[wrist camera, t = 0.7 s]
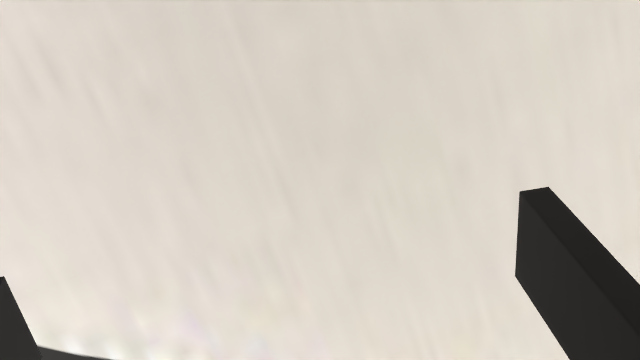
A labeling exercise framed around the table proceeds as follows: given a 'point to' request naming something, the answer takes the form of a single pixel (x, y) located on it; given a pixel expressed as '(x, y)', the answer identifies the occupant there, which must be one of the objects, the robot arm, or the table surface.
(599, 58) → the table surface
